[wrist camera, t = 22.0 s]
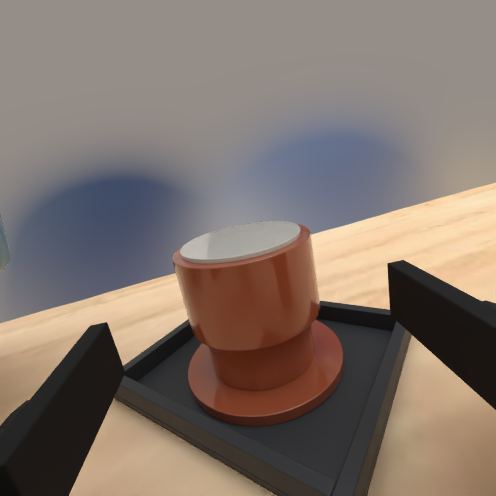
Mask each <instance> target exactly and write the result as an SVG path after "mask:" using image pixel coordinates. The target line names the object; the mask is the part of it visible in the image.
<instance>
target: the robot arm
mask: <svg viewBox="0 0 496 496" xmlns="http://www.w3.org/2000/svg"><path fill="white" fill-rule="evenodd" d="M10 258H11V253H10V248H9V244H8V241H7V237H6V234H5V230H4V226H3V223H2V219H1V216H0V273H1V272H2V271H3V270H4V269H5V268H6V267H7V265H8V264H9V262H10ZM388 281H389V298H390V316H392V317H393V318H394V319H395V320H396V321H397V322H398V323H399V324H401V325H402V326H403V327H404V328H405V329H406V330H407V331H408V332H409V333H411V334H412V335H413V336H414V337H415V338H416V339H417V340H418V341H419V342H421V343H422V344H423V345H424V346H425V347H426V348H427V349H428V350H429V351H431V352H432V353H433V354H434V355H435V356H436V357H437V358H438V359H440V360H441V361H442V362H443V363H444V364H445V365H446V366H447V367H448V368H450V369H451V370H452V371H453V372H454V373H455V374H456V375H457V376H458V377H460V378H461V379H462V380H463V381H464V382H465V383H466V384H467V385H469V386H470V387H471V388H472V389H473V390H474V391H475V392H476V393H477V394H479V395H480V396H481V397H482V398H483V399H484V400H485V401H486V402H487V403H489V404H490V405H491V406H492V407H493V408H494V409H495V410H496V303H492V302H489V301H480V300H478V299H476V298H474V297H472V296H470V295H468V294H467V293H465V292H463V291H461V290H459V289H457V288H455V287H453V286H451V285H450V284H448V283H446V282H444V281H442V280H440V279H438V278H436V277H434V276H433V275H431V274H429V273H427V272H425V271H423V270H421V269H419V268H417V267H416V266H414V265H412V264H410V263H408V262H406V261H404V260H401V261H397V262H392V263H388ZM124 374H125V370H124V368H123V365H122V362H121V359H120V357H119V354H118V351H117V348H116V346H115V343H114V340H113V337H112V335H111V332H110V329H109V326H108V324H107V322H106V323H101V324H96V325H92V326H90V327H89V328H88V329H87V330H86V332H85V333H84V334H83V335H82V336H81V338H80V339H79V340H78V341H77V343H76V344H75V345H74V346H73V348H72V349H71V350H70V351H69V352H68V354H67V355H66V356H65V357H64V359H63V360H62V361H61V362H60V364H59V365H58V366H57V367H56V368H55V370H54V371H53V372H52V373H51V375H50V376H49V377H48V378H47V380H46V381H45V382H44V383H43V385H42V386H41V387H40V388H39V389H38V391H37V392H36V393H35V394H34V396H33V397H32V398H31V399H30V400H28V401H26V402H24V403H23V404H22V405H21V406H20V407H18V408H17V409H16V410H15V411H14V412H12V413H11V414H10V415H9V416H8V418H7V419H6V420H5V421H4V422H3V423H2V425H1V426H0V496H69V494H70V492H71V489H72V487H73V485H74V483H75V481H76V479H77V476H78V474H79V472H80V470H81V468H82V466H83V463H84V461H85V459H86V457H87V455H88V453H89V450H90V448H91V446H92V444H93V442H94V440H95V437H96V435H97V433H98V431H99V429H100V427H101V424H102V422H103V420H104V418H105V416H106V413H107V411H108V409H109V407H110V405H111V403H112V400H113V398H114V396H115V394H116V392H117V390H118V387H119V385H120V383H121V381H122V379H123V377H124Z"/></svg>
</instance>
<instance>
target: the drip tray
mask: <svg viewBox="0 0 496 496" xmlns="http://www.w3.org/2000/svg"><path fill="white" fill-rule="evenodd" d="M315 320H317V321H319V322H321V323H323V324H324V325H326V326H327V327H329V328H330V329H331V330H332V331H333V332H334V333H335V334H336V336H337V337H338V339H339V341H340V342H341V345H342V349H343V356H344V370H343V374H342V377H341V380H340V382H339V384H338V386H337V387H336V389H335V390H334V391H333V393H332V394H331V395H330V396H329V397H328V398H327V399H326V400H325V401H324V402H323V403H322V404H320V405H319V406H318V407H316V408H315V409H313V410H312V411H310V412H308V413H306V414H304V415H303V416H300V417H298V418H295V419H293V420H290V421H286V422H283V423H279V424H274V425H268V426H240V425H235V424H230V423H227V422H224V421H221V420H218V419H216V418H215V417H213V416H211V415H209V414H208V413H207V412H205V411H204V410H203V409H202V408H201V407H200V406H199V405H198V404H197V402H196V401H195V399H194V397H193V395H192V392H191V389H190V386H189V382H188V368H189V364H190V361H191V359H192V357H193V355H194V353H195V352H196V350H197V349H198V348H199V346H200V345H201V344H202V343H201V342H200V341H199V340H197V338H196V337H195V336H194V334H193V332H192V329H191V326H190V322H189V319H188V320H187V321H185V322H184V323H183V324H181V325H180V326H178V327H177V328H176V329H174V330H173V331H171V332H170V333H169V334H167V335H166V336H164V337H163V338H162V339H160V340H159V341H157V342H156V343H155V344H153V345H152V346H151V347H149V348H148V349H146V350H145V351H144V352H142V353H141V354H139V355H138V356H137V357H135V358H134V359H132V360H131V361H130V362H128V363H127V364H125V365H124V366H123V368H124V370H125V374H124V377H123V379H122V381H121V383H120V385H119V387H118V390H117V392H116V394H115V396H114V397H115V399H117V400H119V401H120V402H122V403H124V404H125V405H127V406H129V407H131V408H132V409H134V410H136V411H137V412H139V413H141V414H142V415H144V416H146V417H147V418H149V419H151V420H152V421H154V422H156V423H157V424H159V425H161V426H162V427H164V428H166V429H167V430H169V431H171V432H173V433H174V434H176V435H178V436H179V437H181V438H183V439H184V440H186V441H188V442H189V443H191V444H193V445H194V446H196V447H198V448H199V449H201V450H203V451H204V452H206V453H208V454H209V455H211V456H213V457H215V458H216V459H218V460H220V461H221V462H223V463H225V464H226V465H228V466H230V467H231V468H233V469H235V470H236V471H238V472H240V473H241V474H243V475H245V476H246V477H248V478H250V479H251V480H253V481H255V482H257V483H258V484H260V485H262V486H263V487H265V488H267V489H268V490H270V491H272V492H273V493H275V494H277V495H278V496H366V495H367V492H368V488H369V485H370V481H371V478H372V474H373V470H374V467H375V463H376V460H377V456H378V453H379V449H380V445H381V442H382V438H383V435H384V431H385V428H386V424H387V420H388V417H389V413H390V410H391V406H392V403H393V399H394V395H395V392H396V388H397V385H398V381H399V378H400V374H401V370H402V367H403V363H404V360H405V356H406V352H407V349H408V345H409V342H410V338H411V335H412V334H411V333H409V332H408V331H407V330H406V329H405V328H404V327H403V326H402V325H401V324H399V323H398V322H397V321H396V320H395V319H394V318H393V317H392V316H390V310H387V309H379V308H371V307H364V306H356V305H349V304H341V303H333V302H326V301H320V310H319V314H318V316H317V318H316V319H315Z"/></svg>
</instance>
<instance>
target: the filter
mask: <svg viewBox="0 0 496 496" xmlns="http://www.w3.org/2000/svg"><path fill="white" fill-rule="evenodd" d="M172 259H173V264H174V268H175V271H176V275H177V279H178V282H179V286H180V290H181V293H182V297H183V300H184V304H185V308H186V311H187V315H188V319H189V322H190V326H191V329H192V332H193V334H194V336H195V337H196V338H197V340H199V341H200V342H201V343H202V344H201V345H200V346H199V348H198V349H197V350H196V352H195V353H194V355H193V357H192V359H191V361H190V364H189V368H188V382H189V386H190V389H191V392H192V395H193V397H194V399H195V401H196V402H197V404H198V405H199V406H200V407H201V408H202V409H203V410H204V411H205V412H207V413H208V414H209V415H211V416H213V417H215V418H216V419H218V420H221V421H224V422H227V423H230V424H235V425H240V426H268V425H274V424H279V423H283V422H286V421H290V420H293V419H295V418H298V417H300V416H303V415H304V414H306V413H308V412H310V411H312V410H313V409H315V408H316V407H318V406H319V405H320V404H322V403H323V402H324V401H325V400H326V399H327V398H328V397H329V396H330V395H331V394H332V393H333V391H334V390H335V389H336V387H337V386H338V384H339V382H340V380H341V377H342V374H343V370H344V356H343V349H342V345H341V342H340V341H339V339H338V337H337V336H336V334H335V333H334V332H333V331H332V330H331V329H330V328H329V327H327V326H326V325H324V324H323V323H321V322H319V321H317V320H315V319H316V318H317V316H318V314H319V310H320V300H319V293H318V285H317V278H316V270H315V263H314V255H313V248H312V240H311V233H310V230H309V229H308V228H307V227H305V226H302V225H299V224H295V223H292V222H286V221H267V222H255V223H248V224H242V225H237V226H232V227H228V228H224V229H220V230H217V231H214V232H210V233H208V234H205V235H202V236H200V237H197V238H195V239H193V240H191V241H190V242H188V243H187V244H185V245H184V246H183V247H182V248H180V249H179V250H178V251H177V252H176V253H175V254H174V255H173V258H172Z"/></svg>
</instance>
